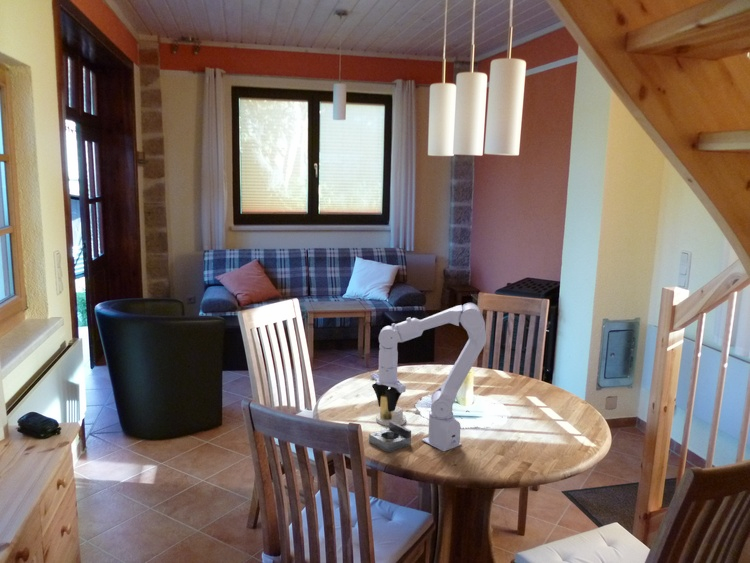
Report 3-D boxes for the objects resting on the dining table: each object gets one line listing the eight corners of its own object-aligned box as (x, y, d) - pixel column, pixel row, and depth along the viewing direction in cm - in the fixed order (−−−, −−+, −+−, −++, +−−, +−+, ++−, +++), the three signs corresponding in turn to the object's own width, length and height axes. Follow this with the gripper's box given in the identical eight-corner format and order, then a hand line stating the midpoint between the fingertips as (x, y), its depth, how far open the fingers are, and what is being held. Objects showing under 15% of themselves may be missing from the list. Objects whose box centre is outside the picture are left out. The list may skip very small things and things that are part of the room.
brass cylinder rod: (395, 417, 184) (396, 396, 183) (386, 420, 181) (386, 398, 180) (387, 413, 187) (387, 392, 186) (377, 416, 184) (377, 395, 183)
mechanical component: (373, 425, 196) (403, 428, 194) (373, 412, 195) (403, 415, 193) (379, 414, 205) (408, 417, 203) (380, 401, 205) (408, 404, 202)
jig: (410, 444, 181) (411, 430, 180) (388, 452, 175) (388, 438, 175) (391, 434, 188) (391, 421, 187) (369, 441, 182) (369, 427, 182)
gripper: (363, 362, 184) (362, 404, 187) (393, 374, 173) (392, 418, 175) (380, 358, 189) (379, 399, 191) (411, 370, 178) (410, 413, 180)
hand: (386, 408), depth 183 cm, fingers closed on brass cylinder rod, 4 cm apart
